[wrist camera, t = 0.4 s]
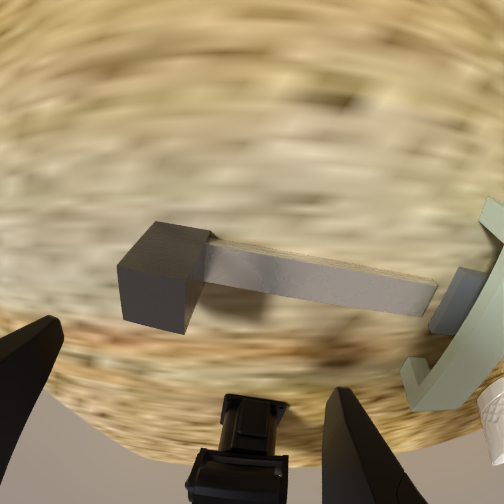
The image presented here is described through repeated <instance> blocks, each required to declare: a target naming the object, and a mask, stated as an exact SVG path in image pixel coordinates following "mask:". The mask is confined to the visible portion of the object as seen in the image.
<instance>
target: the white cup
mask: <svg viewBox="0 0 504 504" xmlns="http://www.w3.org/2000/svg"><path fill="white" fill-rule="evenodd" d="M477 408H478V411H479V414H480V417H481V423H482V427H483V430H484V434H485V439H486V442H487V446H488V450H489V454H490V459H491V463H492V465H493V466H494V465H499V464H502V463H504V377H501V378H499V379H498V380H496V381H495V382H493V383H492V384H490V385H489V386H488V387H487V388H486V389H485V390H484V391H483V392H482V393H481V394H480V396H479V397H478V399H477Z"/></svg>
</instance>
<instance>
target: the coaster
mask: <svg viewBox="0 0 504 504" xmlns="http://www.w3.org/2000/svg"><path fill="white" fill-rule="evenodd" d="M489 276H490V274H488V273H484V272H480V271H476V270H471V269H467V268H463V267H458V270H457V272H456V274H455V276H454V278H453V280H452V282H451V284H450V286H449V288H448V290H447V292H446V293H445V295H444V297H443V299H442V301H441V303H440V305H439V307H438V308H437V310H436V312H435V314H434V315H433V317H432V319H431V321H430V322H429V324H428V326H429V328H430V330H431V332H432V334H442V335H453V336H455V335H456V334H457V332H458V331H459V329H460V327H461V326H462V324H463V323H464V321H465V319H466V318H467V316H468V314H469V313H470V311H471V309H472V308H473V306H474V304H475V302H476V301H477V299H478V297H479V295H480V293H481V291H482V290H483V288H484V286H485V284H486V282H487V280H488V278H489Z"/></svg>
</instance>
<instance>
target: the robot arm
mask: <svg viewBox="0 0 504 504" xmlns="http://www.w3.org/2000/svg"><path fill="white" fill-rule="evenodd" d="M63 342H64V334H63V330H62V326H61V323H60V320H59V319H58V318H56V317H54V316H51V315H47V316H45V317H43V318H41V319H39V320H37V321H35V322H32V323H30V324H28V325H26V326H24V327H22V328H20V329H18V330H16V331H14V332H12V333H10V334H8V335H6V336H4V337H2V338H0V484H1V482H2V479H3V476H4V474H5V471H6V469H7V466H8V463H9V461H10V458H11V456H12V453H13V451H14V449H15V446H16V444H17V442H18V439H19V437H20V435H21V432H22V430H23V428H24V426H25V424H26V422H27V419H28V417H29V415H30V413H31V411H32V409H33V407H34V405H35V403H36V401H37V399H38V397H39V395H40V393H41V391H42V389H43V387H44V385H45V383H46V381H47V379H48V377H49V375H50V373H51V370H52V368H53V366H54V363H55V361H56V358H57V356H58V354H59V351H60V349H61V347H62V344H63ZM285 410H286V404H285V403H282V402H275V401H268V400H261V399H254V398H248V397H242V396H236V395H231V394H226V395H225V396H224V401H223V408H222V414H221V420H220V424H222V425H223V428H222V433H221V438H220V443H219V448H218V451H216V450H208V449H207V448H201V450H200V452H199V453H198V454H197V457H196V460H195V463H194V465H193V468H192V471H191V474H190V475H189V477H188V479H187V481H186V482H185V488H186V489H187V490H188V498H189V501H190V502H192V504H286V502H287V489H288V458H289V455H283V456H276V455H275V443H276V429H277V426H278V424H279V422H280V420H281V418H282V416H283V414H284V412H285ZM279 475H280V476H279ZM322 504H428V503H427V502H426V500H425V499H424V498H423V496H422V495H421V494H420V493H419V492H418V490H417V488H416V487H415V486H414V484H413V483H412V481H411V480H410V478H409V477H408V475H407V474H406V473H405V472H404V469H403V468H402V467H401V465H400V463H399V462H398V460H397V459H396V457H395V456H394V454H393V452H392V451H391V449H390V448H389V446H388V445H387V443H386V442H385V440H384V439H383V437H382V436H381V434H380V433H379V431H378V430H377V428H376V427H375V425H374V424H373V422H372V421H371V419H370V418H369V416H368V414H367V413H366V411H365V410H364V408H363V407H362V405H361V404H360V402H359V401H358V399H357V398H356V396H355V395H354V393H353V392H352V390H351V389H350V388H348V387H340V386H338V387H336V388H335V389H334V391H333V393H332V394H331V396H330V397H329V399H328V401H327V403H326V408H325V420H324V431H323V441H322Z"/></svg>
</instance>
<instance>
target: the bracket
mask: <svg viewBox="0 0 504 504" xmlns="http://www.w3.org/2000/svg"><path fill="white" fill-rule="evenodd" d="M479 222H480V223H482V224H483V225H484V226H485V227H486V228H487V229H488V230H489V231H491V232H492V233H493V234H494V235H495V236H496V237H497V238H498V239H499V240H500V241H501V242H503V243H504V203H502V202H499V201H497V200H495V199H492V198H490V197H487V200H486V203H485V206H484V208H483V211H482V214H481V216H480V219H479ZM503 356H504V247H503V249H502V251H501V253H500V255H499V258H498V260H497V262H496V264H495V266H494V268H493V270H492V272H491V274H490V276H489V278H488V280H487V282H486V284H485V286H484V288H483V290H482V291H481V293H480V295H479V297H478V299H477V301H476V302H475V304H474V306H473V308H472V309H471V311H470V313H469V314H468V316H467V318H466V319H465V321H464V323H463V324H462V326H461V327H460V329H459V331H458V332H457V334H456V335H455V337H454V338H453V340H452V341H451V343H450V344H449V346H448V347H447V349H446V350H445V352H444V353H443V355H442V356H441V358H440V359H439V360H438V362H437V363H436V364H435V366H434V367H433V369H432V370H431V371H430V370H429V367H428V364H427V361H426V359H425V358H419V357H408V359H407V360H406V362H405V363H404V365H403V366H402V367H401V369H400V370H399V371H400V374H401V378H402V381H403V385H404V389H405V392H406V396H407V400H408V404H409V408H410V412H417V411H438V410H452V409H459V408H460V407H461V406H462V405H463V404H464V403H465V401H466V400H467V399H468V398H469V397H470V396H471V395H472V394H473V393H474V391H475V390H476V389H477V388H478V387H479V386H480V385H481V383H482V382H483V381H484V380H485V379H486V377H487V376H488V375H489V374H490V373H491V371H492V370H493V369H494V367H495V366H496V365H497V364H498V362H499V361H500V360H501V358H502V357H503Z"/></svg>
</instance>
